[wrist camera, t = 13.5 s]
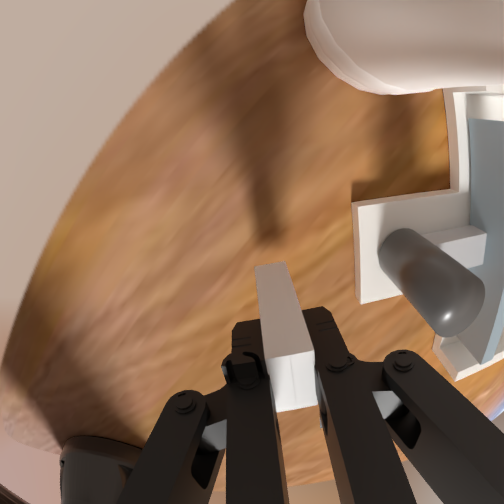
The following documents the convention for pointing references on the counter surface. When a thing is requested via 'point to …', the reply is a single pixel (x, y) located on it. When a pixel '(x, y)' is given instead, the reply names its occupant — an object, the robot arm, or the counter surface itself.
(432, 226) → the tray
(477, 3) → the bottle
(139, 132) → the counter surface
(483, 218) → the blue-grey panel and knob
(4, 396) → the counter surface
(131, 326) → the counter surface
